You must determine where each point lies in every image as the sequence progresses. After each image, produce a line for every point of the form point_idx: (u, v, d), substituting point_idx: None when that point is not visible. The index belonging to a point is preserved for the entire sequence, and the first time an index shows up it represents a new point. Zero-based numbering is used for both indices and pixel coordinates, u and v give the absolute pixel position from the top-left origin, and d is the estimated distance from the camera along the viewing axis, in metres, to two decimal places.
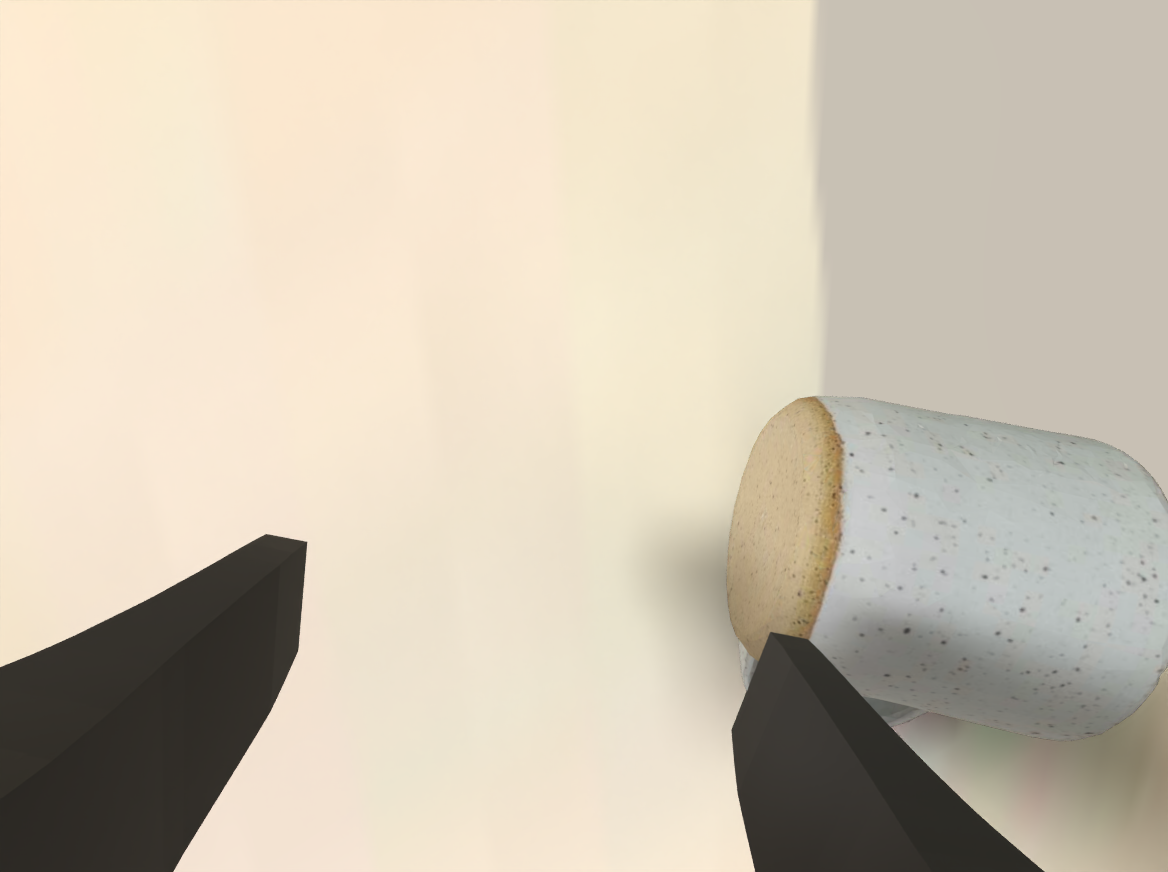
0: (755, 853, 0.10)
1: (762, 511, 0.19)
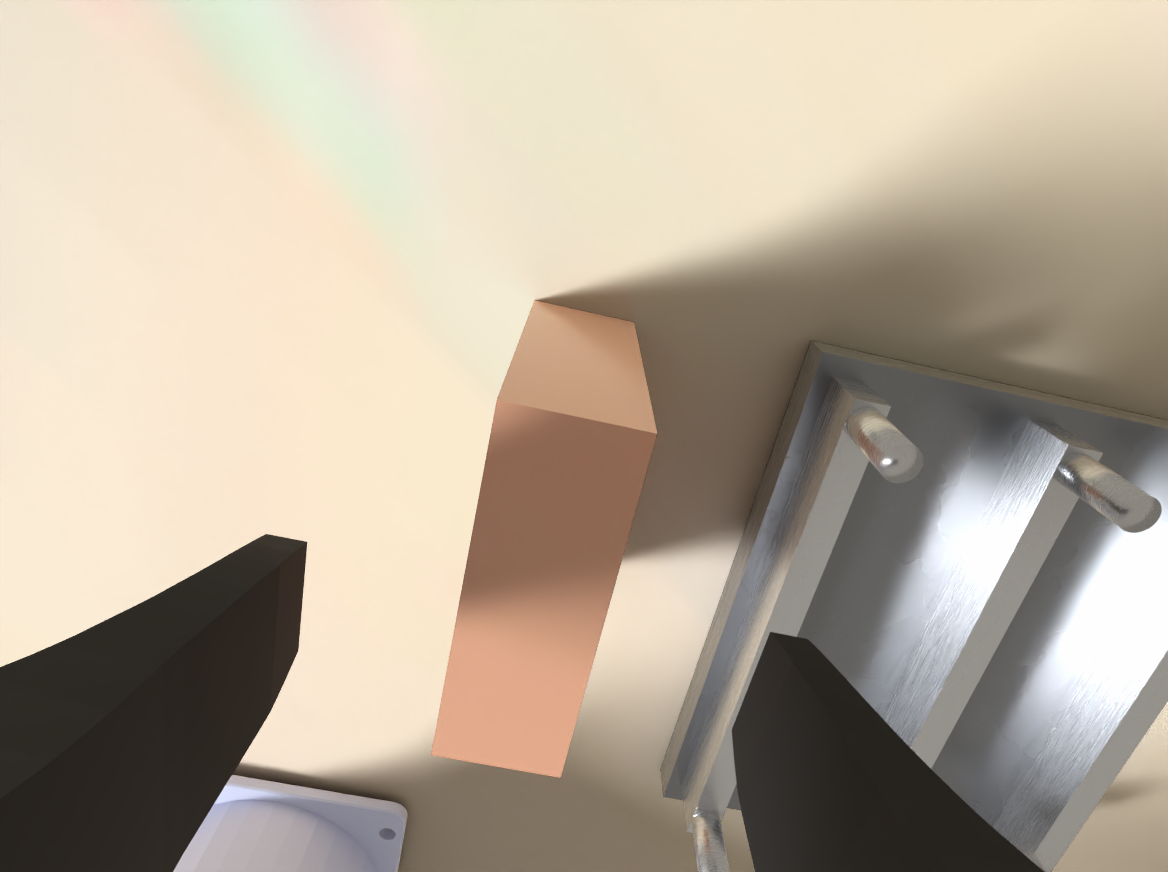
0: (755, 853, 0.10)
1: None
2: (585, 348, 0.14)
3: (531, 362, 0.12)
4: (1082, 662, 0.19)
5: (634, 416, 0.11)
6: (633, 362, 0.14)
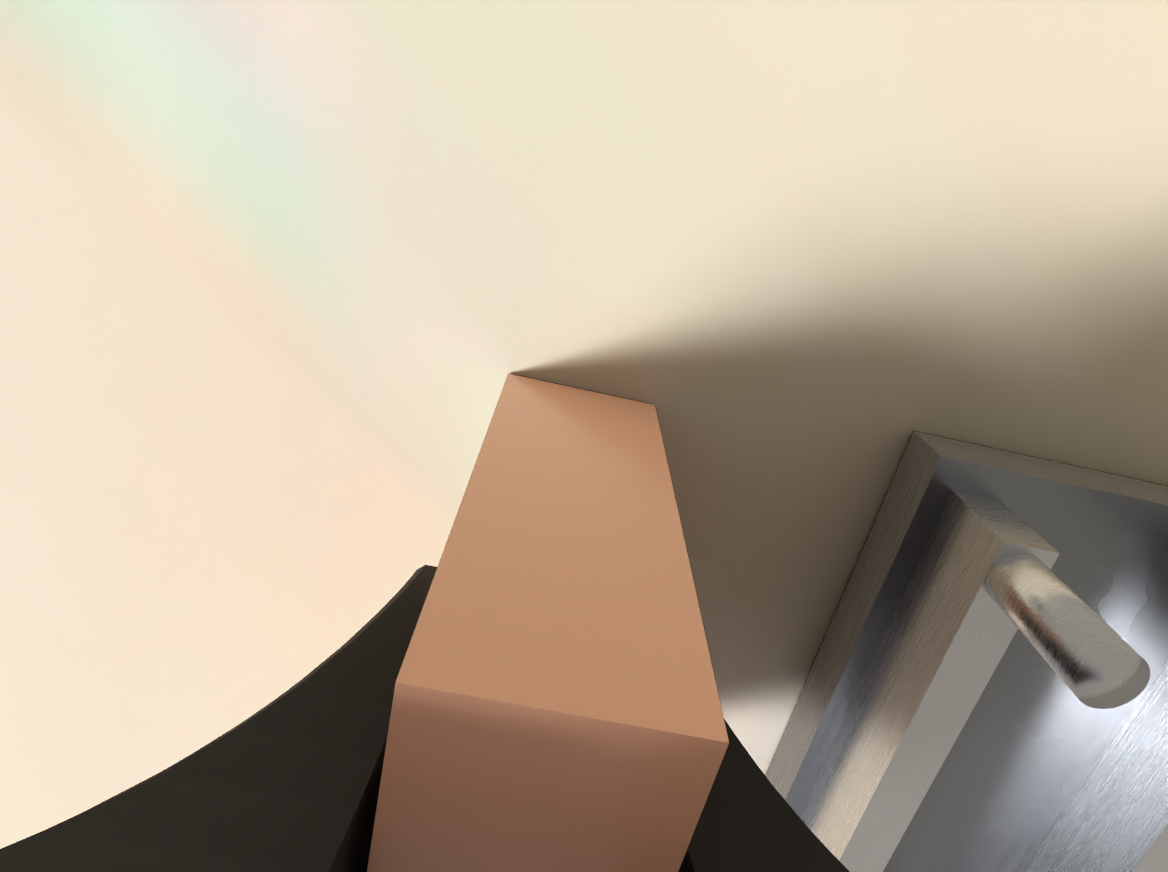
0: None
1: None
2: (582, 478, 0.09)
3: (486, 532, 0.07)
4: None
5: (678, 682, 0.06)
6: (662, 504, 0.08)
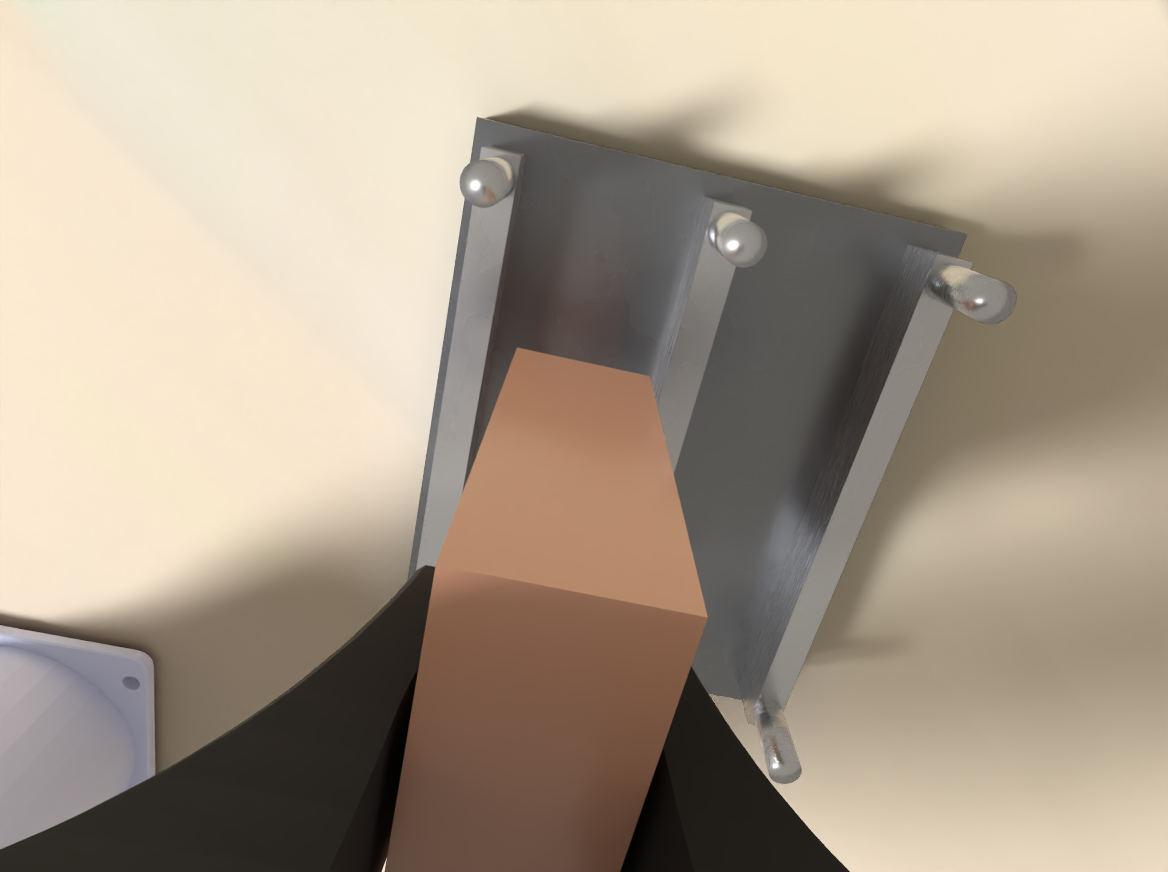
0: None
1: None
2: (584, 430, 0.10)
3: (503, 466, 0.08)
4: (805, 480, 0.19)
5: (666, 576, 0.07)
6: (656, 451, 0.10)
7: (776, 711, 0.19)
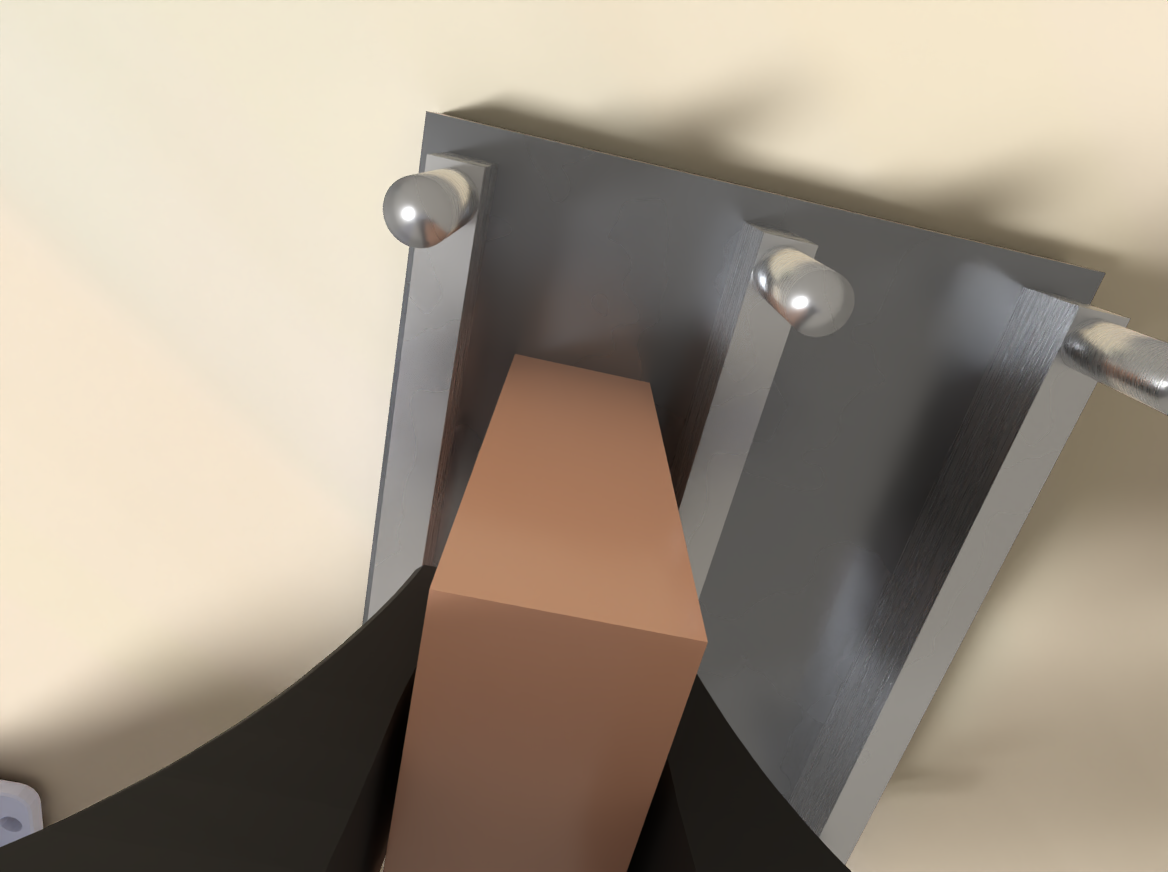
0: None
1: None
2: (583, 442, 0.10)
3: (499, 480, 0.08)
4: (869, 589, 0.14)
5: (666, 597, 0.07)
6: (655, 463, 0.09)
7: None
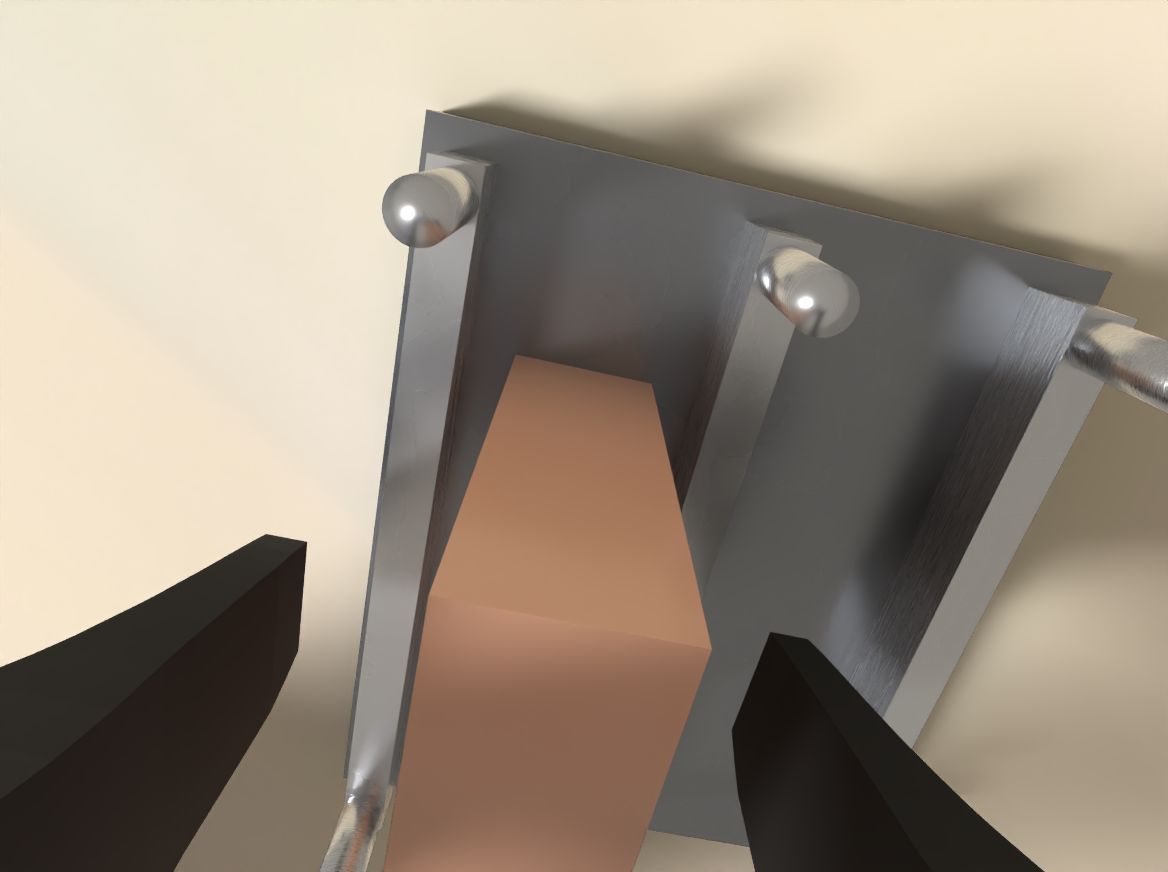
0: (755, 853, 0.10)
1: None
2: (584, 444, 0.09)
3: (500, 484, 0.08)
4: (873, 592, 0.14)
5: (670, 603, 0.07)
6: (657, 466, 0.09)
7: None
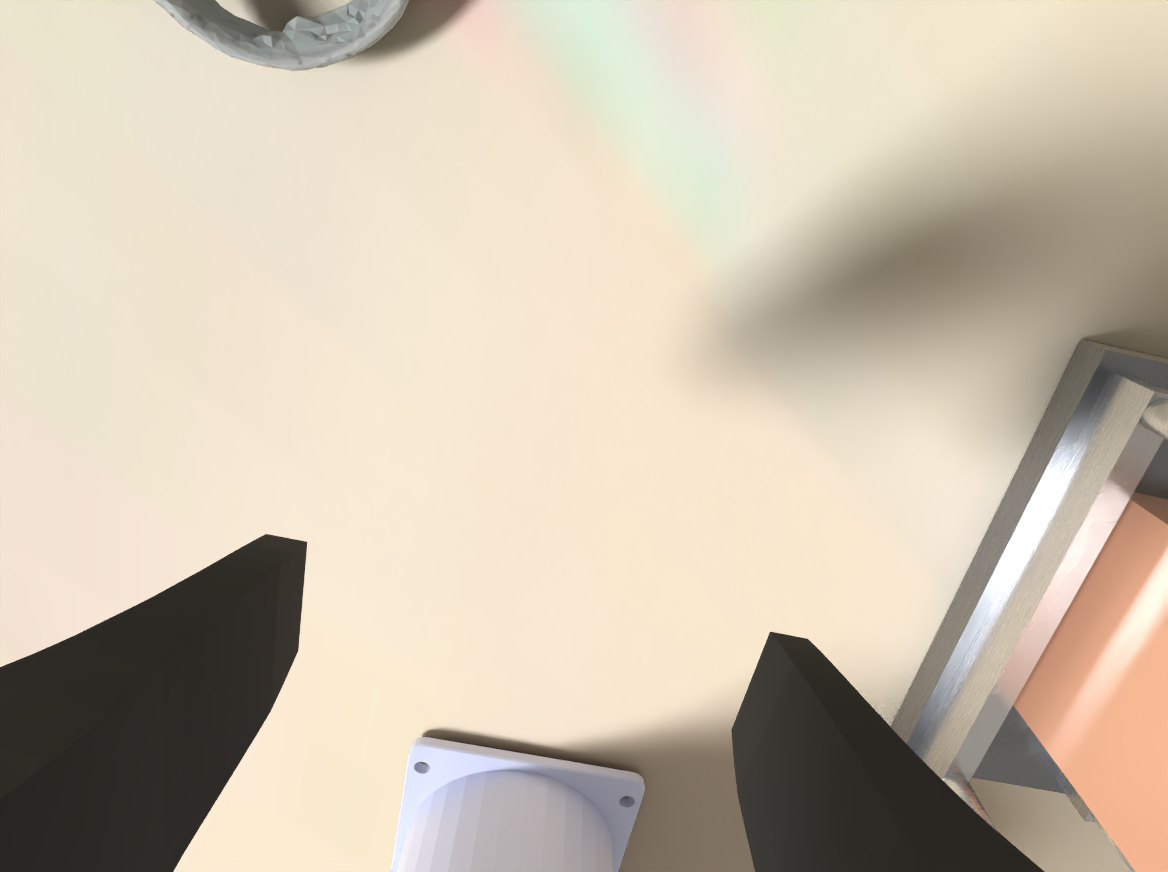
0: (755, 853, 0.10)
1: None
2: None
3: None
4: None
5: None
6: None
7: None
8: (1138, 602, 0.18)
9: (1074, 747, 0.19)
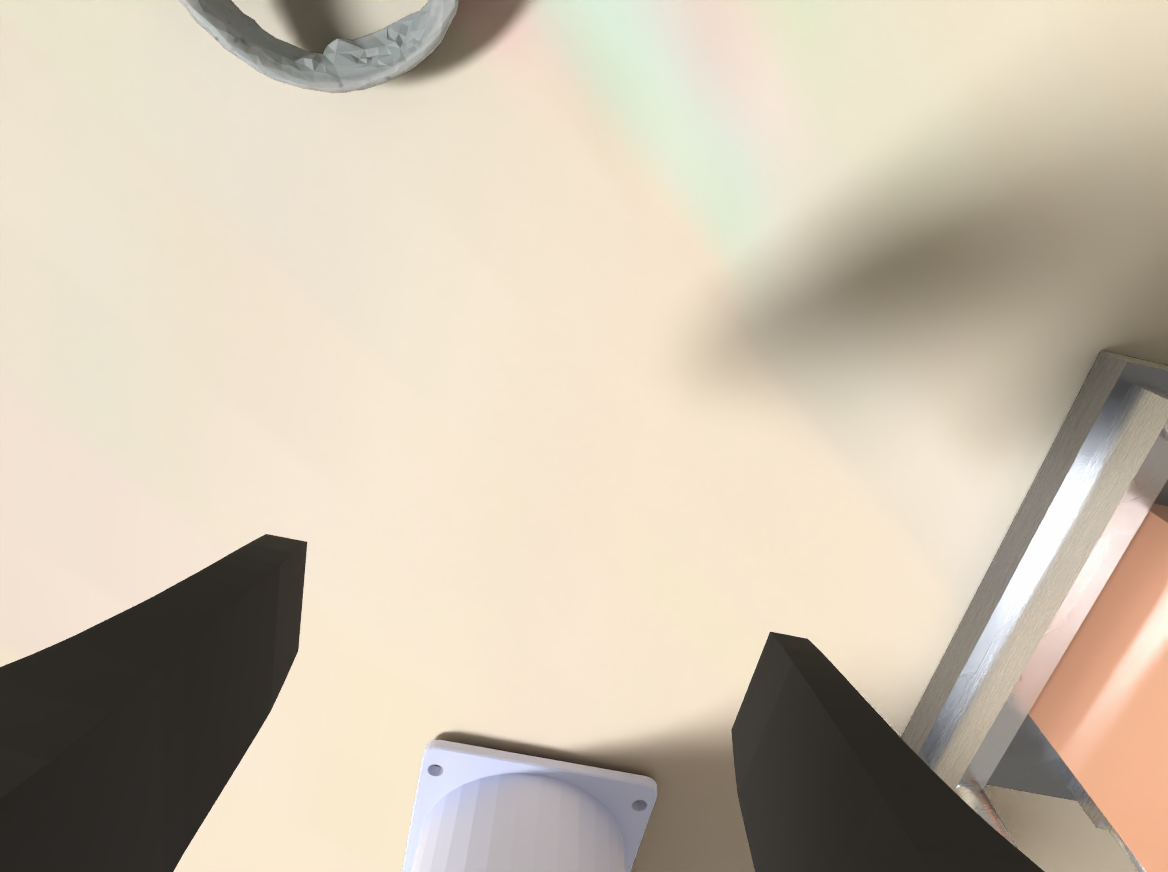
0: (755, 853, 0.10)
1: None
2: None
3: None
4: None
5: None
6: None
7: None
8: (1157, 613, 0.18)
9: (1090, 756, 0.19)
